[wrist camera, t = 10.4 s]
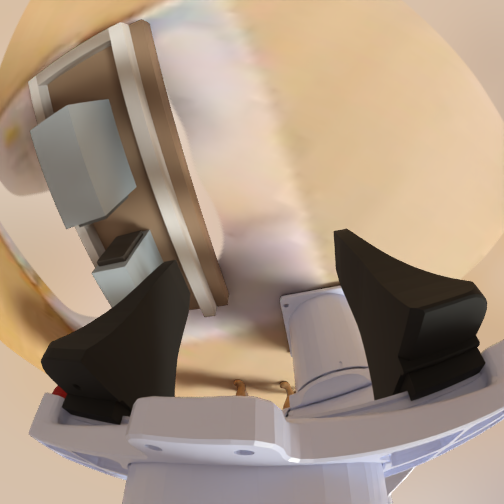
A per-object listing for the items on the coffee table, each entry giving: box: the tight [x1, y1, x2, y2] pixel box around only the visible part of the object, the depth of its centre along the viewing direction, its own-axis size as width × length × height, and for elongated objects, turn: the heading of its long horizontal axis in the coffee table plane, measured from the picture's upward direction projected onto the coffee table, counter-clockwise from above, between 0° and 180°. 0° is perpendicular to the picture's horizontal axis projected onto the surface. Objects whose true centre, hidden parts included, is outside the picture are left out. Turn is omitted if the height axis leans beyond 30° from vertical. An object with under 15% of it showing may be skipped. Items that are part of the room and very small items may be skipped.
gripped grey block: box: [30, 99, 137, 229], centre depth 15 cm, size 4×7×5 cm, turn 13°
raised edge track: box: [28, 19, 229, 317], centre depth 17 cm, size 24×11×6 cm, turn 12°
